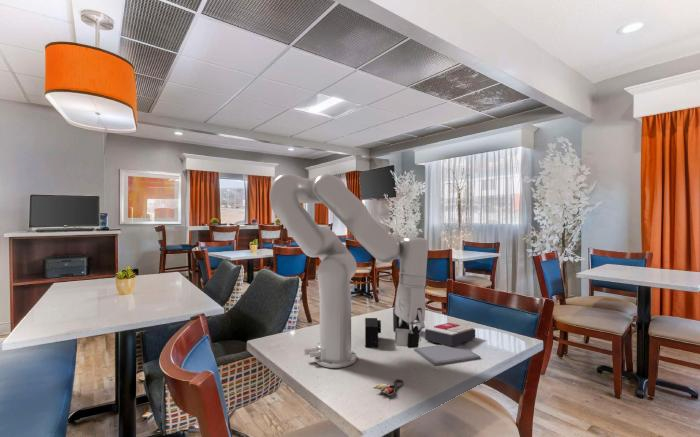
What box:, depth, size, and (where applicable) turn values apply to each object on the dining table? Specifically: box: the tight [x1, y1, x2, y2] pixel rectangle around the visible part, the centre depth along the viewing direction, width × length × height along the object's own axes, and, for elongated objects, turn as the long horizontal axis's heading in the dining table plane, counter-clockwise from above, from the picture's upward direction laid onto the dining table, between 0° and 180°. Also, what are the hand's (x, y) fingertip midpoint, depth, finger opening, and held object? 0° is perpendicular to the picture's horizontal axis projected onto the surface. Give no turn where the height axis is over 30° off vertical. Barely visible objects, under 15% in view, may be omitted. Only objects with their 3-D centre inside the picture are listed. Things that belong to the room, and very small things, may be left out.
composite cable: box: [372, 378, 405, 399], centre depth 80 cm, size 10×5×2 cm, turn 132°
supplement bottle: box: [392, 306, 409, 333], centre depth 124 cm, size 7×7×12 cm
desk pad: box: [413, 344, 481, 366], centre depth 102 cm, size 16×12×1 cm
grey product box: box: [424, 322, 476, 347], centre depth 115 cm, size 11×4×15 cm
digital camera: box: [364, 317, 382, 349], centre depth 113 cm, size 10×5×7 cm, turn 177°
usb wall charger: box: [394, 328, 422, 348], centre depth 93 cm, size 4×7×4 cm, turn 89°
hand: (408, 343), depth 93 cm, fingers closed on usb wall charger, 4 cm apart
